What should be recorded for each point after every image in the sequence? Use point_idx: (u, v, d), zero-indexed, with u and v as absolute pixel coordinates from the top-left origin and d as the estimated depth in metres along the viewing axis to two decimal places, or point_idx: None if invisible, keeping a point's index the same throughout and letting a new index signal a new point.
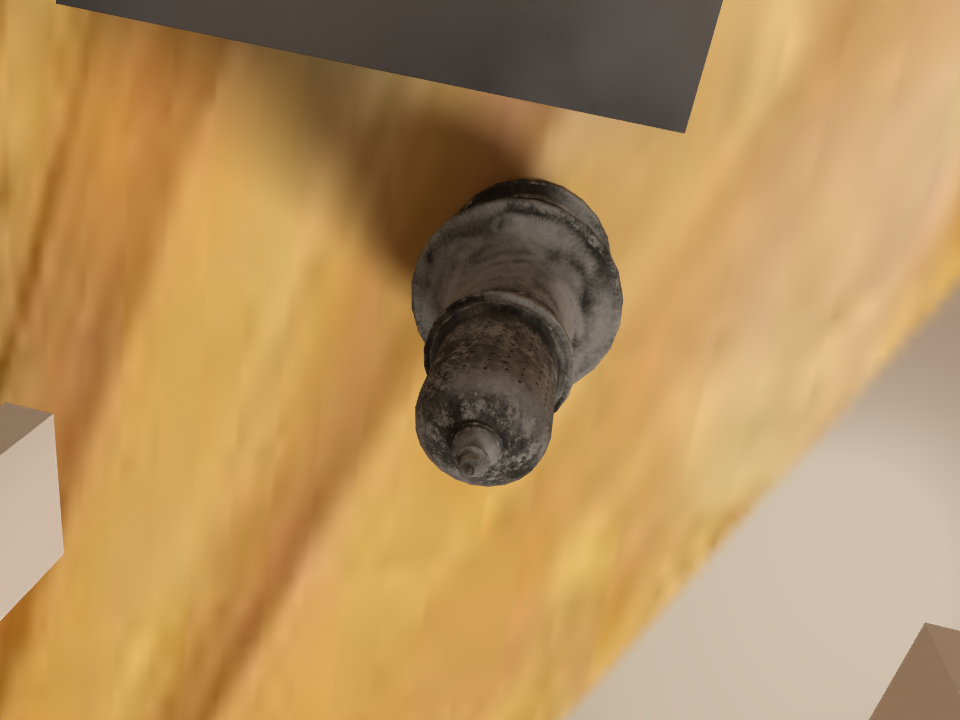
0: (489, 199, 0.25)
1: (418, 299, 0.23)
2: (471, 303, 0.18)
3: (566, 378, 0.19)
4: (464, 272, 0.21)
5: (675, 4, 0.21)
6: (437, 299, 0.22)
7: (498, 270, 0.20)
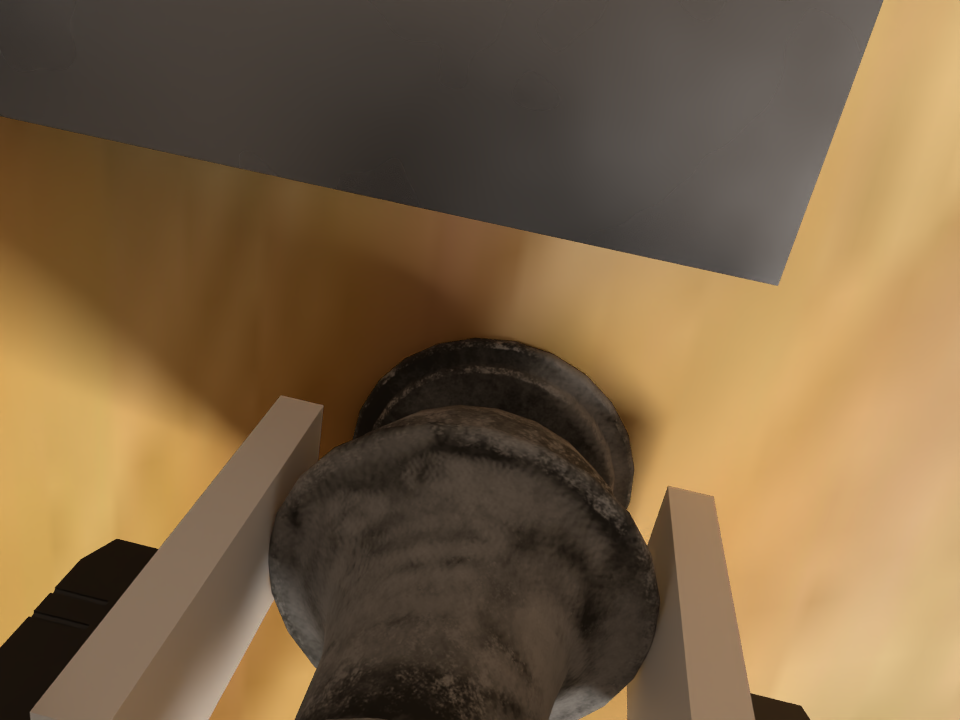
0: (424, 371, 0.14)
1: (280, 582, 0.12)
2: None
3: None
4: (351, 566, 0.11)
5: (771, 46, 0.10)
6: (310, 593, 0.12)
7: (410, 589, 0.10)
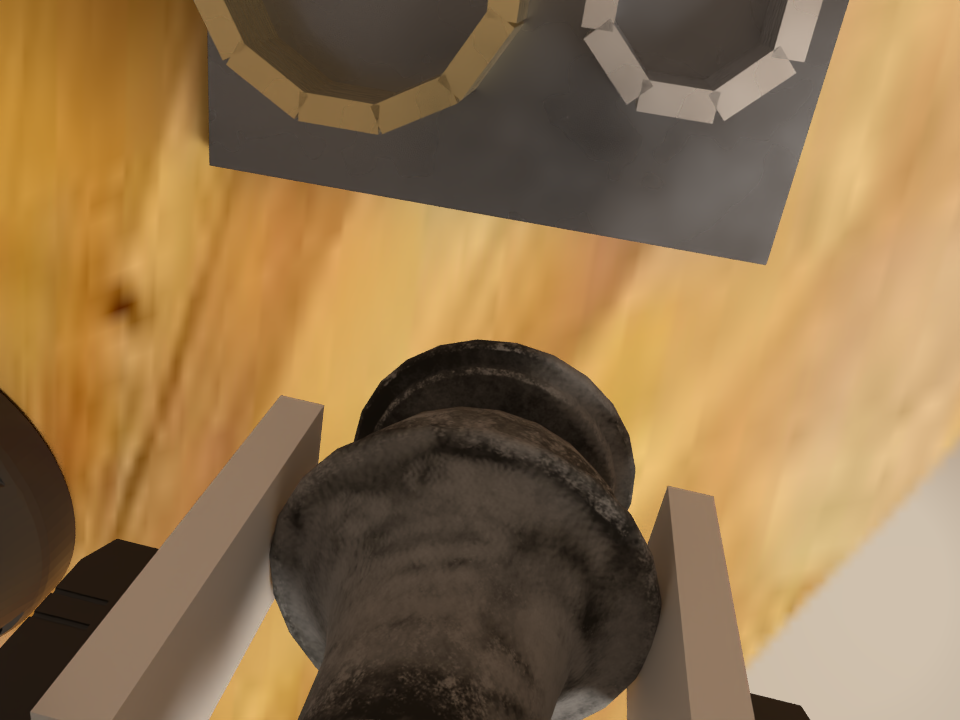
0: (425, 373, 0.14)
1: (282, 584, 0.12)
2: None
3: None
4: (353, 568, 0.11)
5: (757, 159, 0.24)
6: (312, 594, 0.12)
7: (411, 590, 0.10)
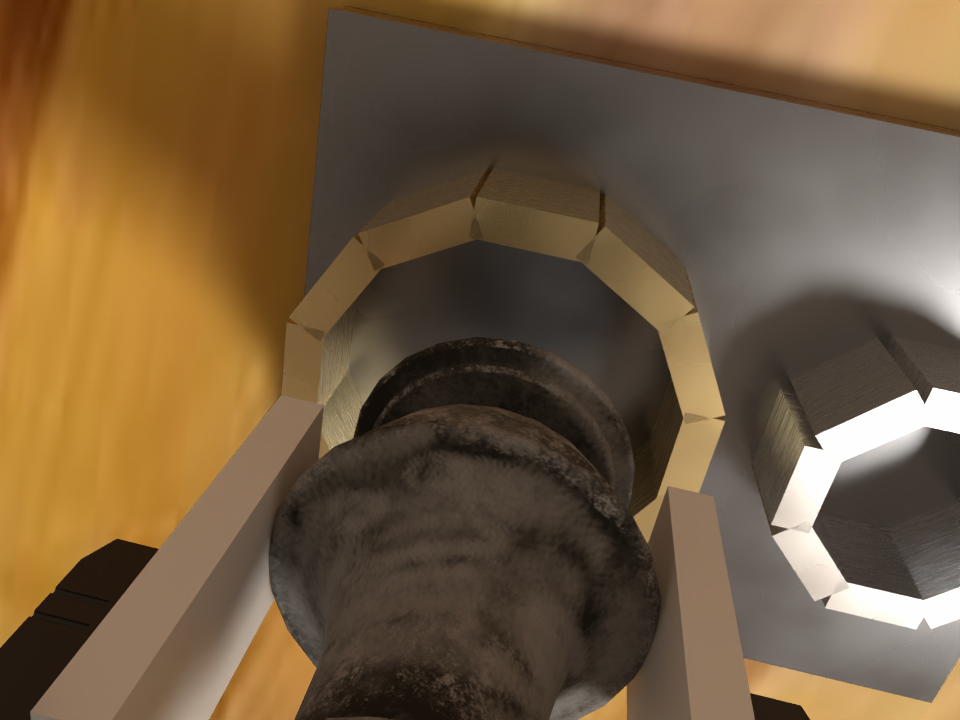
0: (424, 371, 0.14)
1: (280, 581, 0.12)
2: None
3: None
4: (351, 566, 0.11)
5: None
6: (311, 592, 0.12)
7: (410, 587, 0.10)
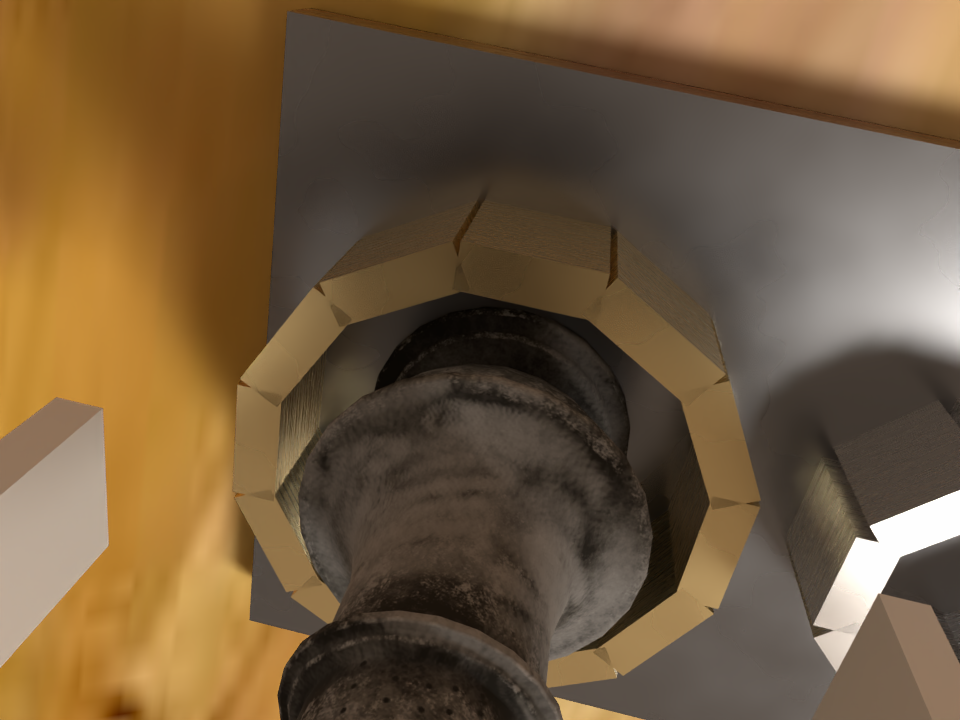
0: (437, 338, 0.16)
1: (310, 523, 0.14)
2: (359, 636, 0.09)
3: None
4: (377, 502, 0.12)
5: None
6: (338, 530, 0.13)
7: (430, 515, 0.11)
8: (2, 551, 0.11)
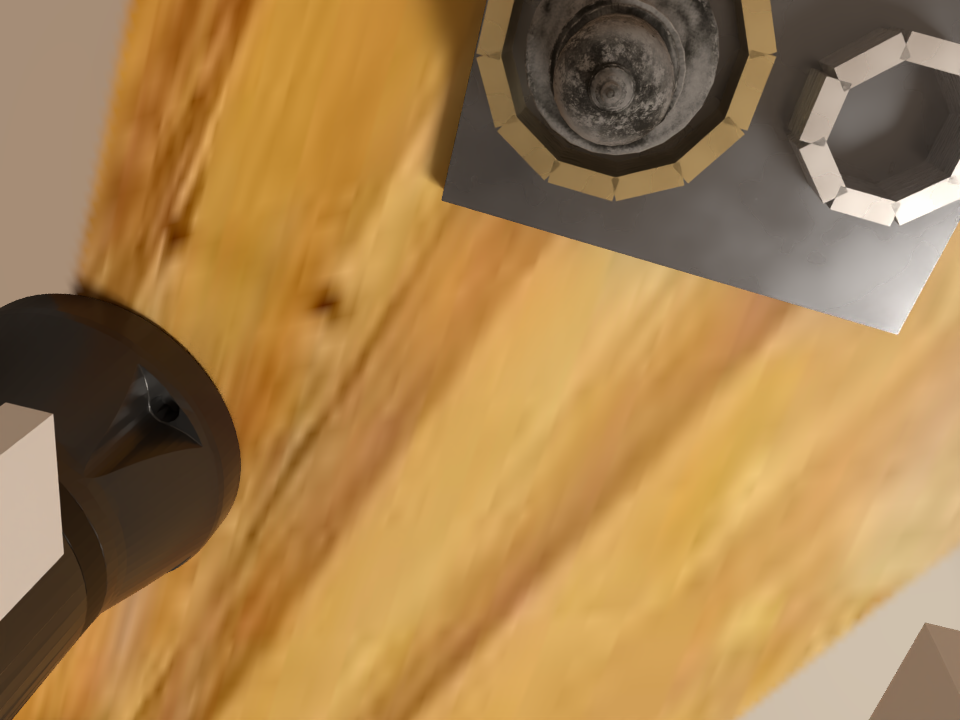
0: None
1: (531, 50, 0.25)
2: (600, 6, 0.21)
3: (676, 85, 0.21)
4: None
5: (906, 251, 0.29)
6: (550, 47, 0.24)
7: None
8: None
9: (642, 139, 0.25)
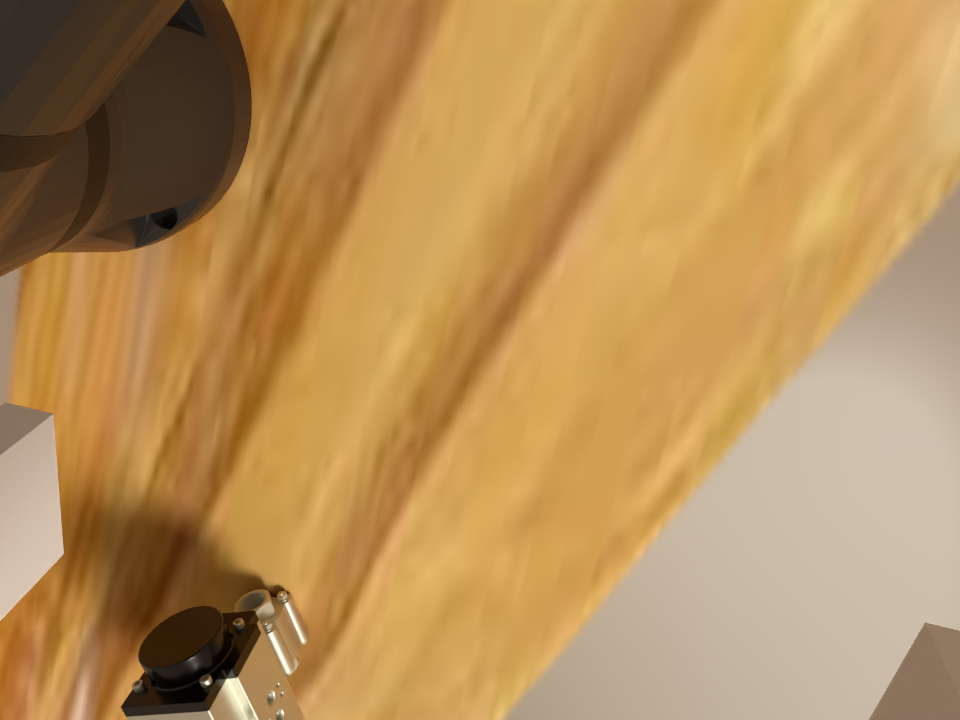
0: None
1: None
2: None
3: None
4: None
5: None
6: None
7: None
8: None
9: None
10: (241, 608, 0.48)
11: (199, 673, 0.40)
